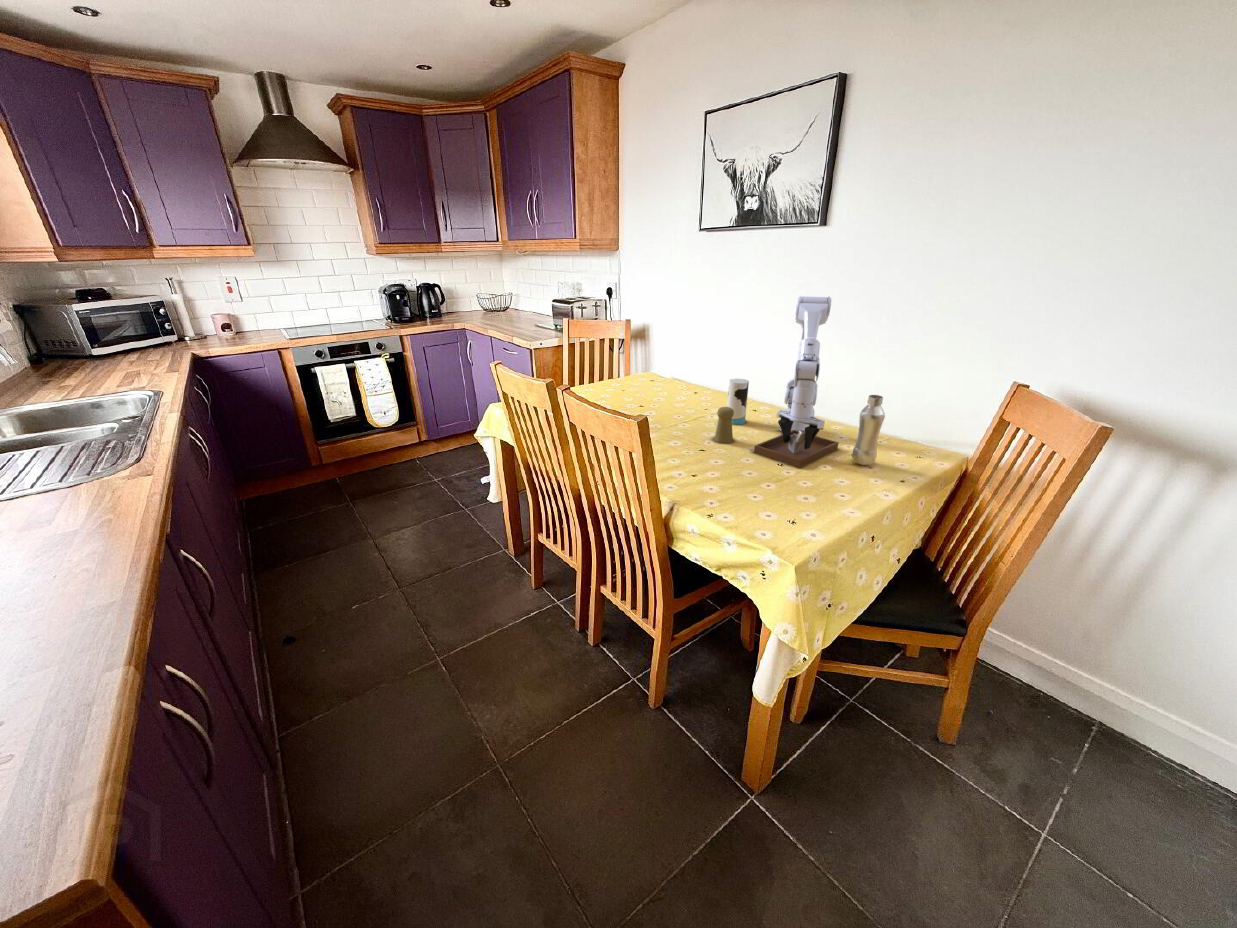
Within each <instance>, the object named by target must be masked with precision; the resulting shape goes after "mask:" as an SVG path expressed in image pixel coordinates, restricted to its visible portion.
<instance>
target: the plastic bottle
mask: <svg viewBox="0 0 1237 928" xmlns="http://www.w3.org/2000/svg"><path fill="white" fill-rule="evenodd" d="M883 400H884V397H883V396H882V395H879V394H870V395H868V398H867V400H866V401H867V404H866V405H865V406H864V407H863V408H862V409H861V410H860V412H859V421H858V422H859V425H858V433H857V438H856V440H855V441H856V442H855V445H854V447H853V450H852V452H851V459H852V461H853V462H854V463H856V464H857V465H863V466H871V465H872V464H874V463H875V462H876V459H877V457H878V451H877V449H878V440H879V436H880V432H881V429H882V426H883V423H884V421H885V418H886V415H885V412H884V409H883V407H882V405H883V404H884V403H883Z"/></svg>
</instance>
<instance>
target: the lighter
mask: <svg viewBox="0 0 1237 928" xmlns="http://www.w3.org/2000/svg"><path fill="white" fill-rule="evenodd" d="M804 438H805V430H800V431H799V433H798V435H797V434H793V435H790V439H789V446H788V449H789V450H790V451H792V452H793V453H799V447H800V443H803V440H804Z"/></svg>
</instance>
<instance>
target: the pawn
mask: <svg viewBox="0 0 1237 928" xmlns="http://www.w3.org/2000/svg"><path fill="white" fill-rule="evenodd" d="M716 415H717V417H718V418H717V425H716V429H715V434H714V439H713V440H714V442H716V443H720V444H730V443H733V442H734V439H733V438H734V435H733V424H732V417H733V415H734V411H733V409H732V408H730V407H727V406H721V407H719V408H718V409H717V412H716Z"/></svg>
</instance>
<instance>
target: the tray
mask: <svg viewBox="0 0 1237 928" xmlns="http://www.w3.org/2000/svg"><path fill="white" fill-rule="evenodd" d="M798 433H799V431H797V430H792V431H791V434H790V435H793V434H797V435H798ZM804 444H805V438H804V440H803V443H800V447H799V453H793V452H792V451H790V450H789V449H788V446H789V442H786V443H784V442H783V435H782V434H779V435H777V436H774V437H772V438H770V439H767V440H765V441H763V442H760V443H757V444H755V445H754V448H753V453H754V454H757V455H759V456H763V457H765V458H769V459H771V460H774V461H776V462H779V463H782V464H783V463H784V464H786V465H788V466H792V467H794V468H797V469H800V468H802V467H805V466H806V465H807V466H808V464H811V463H813V462H814V461H817V460H819V459H821V458H823V457H825V456H827V455H829V454H831V453H834V452H835V451H837V450H838V449H839V441H836V440H832V439H828V438H825V437H821V436H817V435H816V436H815V437H814V439H813V441H812V443H811V446H810V448H808V449H804Z"/></svg>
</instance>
